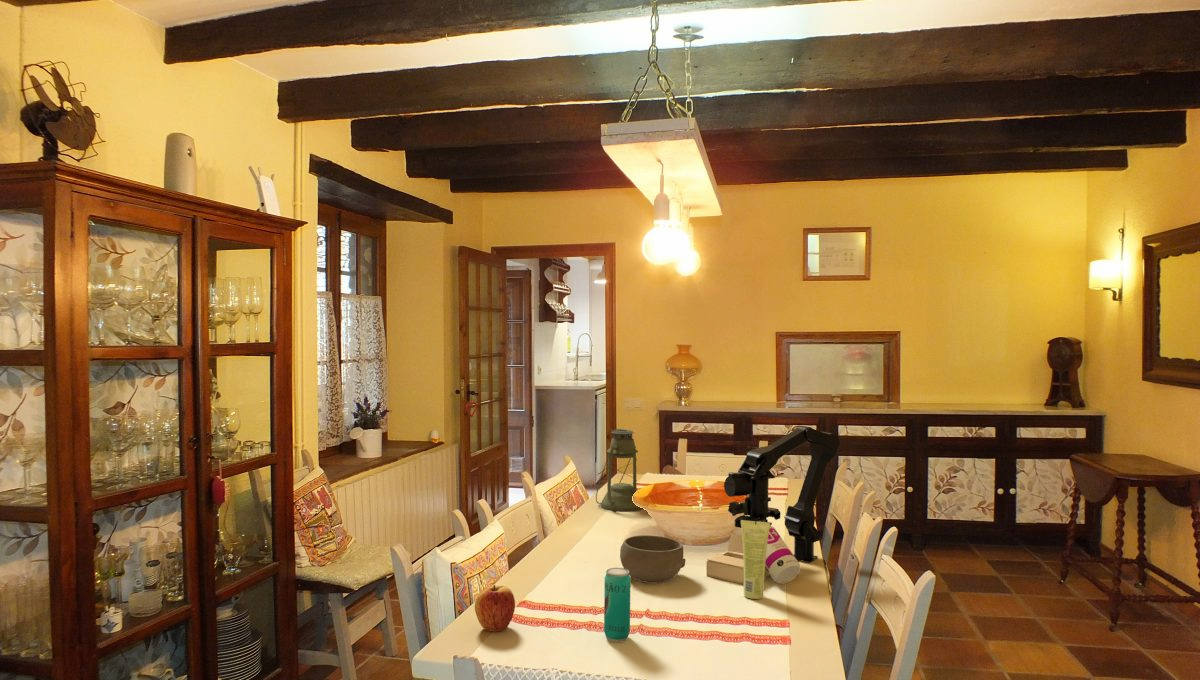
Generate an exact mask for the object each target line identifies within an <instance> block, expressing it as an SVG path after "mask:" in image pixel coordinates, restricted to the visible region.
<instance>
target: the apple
mask: <svg viewBox="0 0 1200 680" xmlns="http://www.w3.org/2000/svg"><path fill="white" fill-rule="evenodd" d="M515 610H516V599H515V596H514V593H513V591H512V590H511V588H509V587H508V586H505V585H495V584H494V585H493V586H492V585H490V586H487V587H485V588H483V589H481V590H480V591H479V592H478V593H477V595H476V597H475V601H474V612H475V614H476V615H475V616H476V618H477V620H478V622H479V624H480V626H481V627H482V628H483V629H484V630H486V631H488V632H502V631H505V629H506V628H508V626H509V625H510V623H511V622H512V619H513V617H514V613H515Z"/></svg>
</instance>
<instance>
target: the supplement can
mask: <svg viewBox="0 0 1200 680" xmlns="http://www.w3.org/2000/svg"><path fill="white" fill-rule="evenodd" d="M765 568H766V569H767V571H768V572H769V574H770V575H771V576H770V577H771V578H772V581H774V582H775V583H778V584H786V583H790V582H791V581H793V580H794V579H795V578H796V577H798V574H799V573H800V571H801V563H799V560H796V558H795V557H794V553H793V552H792V551H791V549H790V548H789V547H788V544H786V542H785V541H784V540H783V538H782V537H781V535H780V534H779V532H778V531H777V529H776V528H775V527H773V526H772V525H771V526H770V529H769V535H768V542H767V551H766V562H765Z"/></svg>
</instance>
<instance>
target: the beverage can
mask: <svg viewBox="0 0 1200 680" xmlns="http://www.w3.org/2000/svg"><path fill="white" fill-rule="evenodd" d="M605 573H606V574H605V576H604V589H603V590H604V593H603V594H604V595H603V597H604V599H603V600H604V601H603V602H604V603H603V604H604V605H603V606H604V608H603V616H604V617H603V631H604V636H605V638H606V639H607V641H608V642H611V643H623V642H626V641H627V640H628V638H629V635H630V633H631V576H630V575H629V570H627V569H624V568H623V567H611V568H607V569H606V570H605Z"/></svg>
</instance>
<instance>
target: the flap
mask: <svg viewBox="0 0 1200 680" xmlns="http://www.w3.org/2000/svg"><path fill="white" fill-rule="evenodd" d="M729 537H730V539H729V543H728V548H727V551H728V552H733V553H738V554H743V539H742V534H741V535H740V534H736V533H730V536H729Z"/></svg>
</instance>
